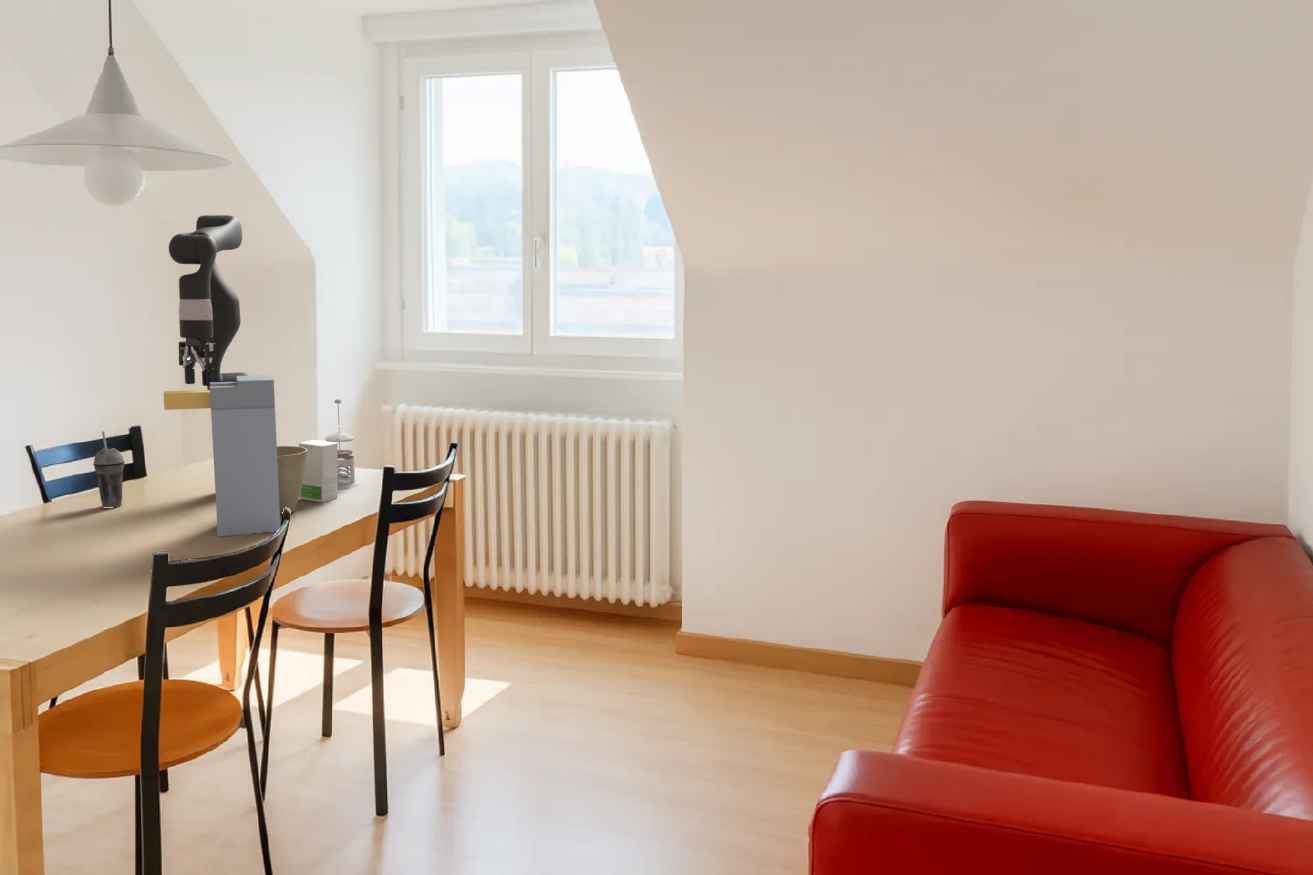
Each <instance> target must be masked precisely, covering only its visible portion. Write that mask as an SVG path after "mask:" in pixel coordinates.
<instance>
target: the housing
mask: <svg viewBox="0 0 1313 875" xmlns="http://www.w3.org/2000/svg"><path fill="white" fill-rule="evenodd" d="M275 398H276V397H275V380H274V378H273V375H272V374H268V375H267V374H265V375H264V374H263V375H260V374H259V375H248V376H237V382H213V383H210V401H211V408H210V413H211V414H210V417H211V432H212V434H211V435H212V436H211V437H212V452H213V453H212V454H213V468H214V470H213V473H214V474H213V476H214V491H215V509H216V510H215V511H216V524H217V526H216V528H217V529H216V530H217V537H227V536H228V537H229V536H240V535H241V536H242V535H254V534H253V533H257V534H263V533H262V532H270V533H277V532H276V531H277V530H278V529H279V528H280V529H281V514H280V509H279V486H278V463H277V446H278V445H277V425H276V424H277V423H276V422H277V421H276V420H277V418H276V403H275V402H276V400H275Z"/></svg>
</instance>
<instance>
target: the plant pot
mask: <svg viewBox="0 0 1313 875" xmlns="http://www.w3.org/2000/svg"><path fill="white" fill-rule="evenodd" d="M306 457H307V449H306V448H303V447H299V445H298V446H295V445H277V463H278V486H279V509H280V515H283V514H282V512H283V508H285V507H287V508H290V510H291V511H292V512H291V513H294V512H295V511H296V508H297V505H298V502H299V500H300V498H299V496H300V492H301V488H302V484H303V479H304V473H305V467H306Z"/></svg>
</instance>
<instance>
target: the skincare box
mask: <svg viewBox="0 0 1313 875" xmlns="http://www.w3.org/2000/svg"><path fill="white" fill-rule="evenodd" d="M298 447H303V448H306V449H307V457H306V467H305V473H304V479H303V484H302V488H301V492H300V496H299V500H304V501H313V502H319V503H327V502H329V501H332V500H335V499H338V489H337V470H338V469H337V466H338V465H337V460H338V459H337V450H338V442H329V441H326V440H320V439H319V440H318V439H311V440H306V441H301V442H299V443H298Z"/></svg>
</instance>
